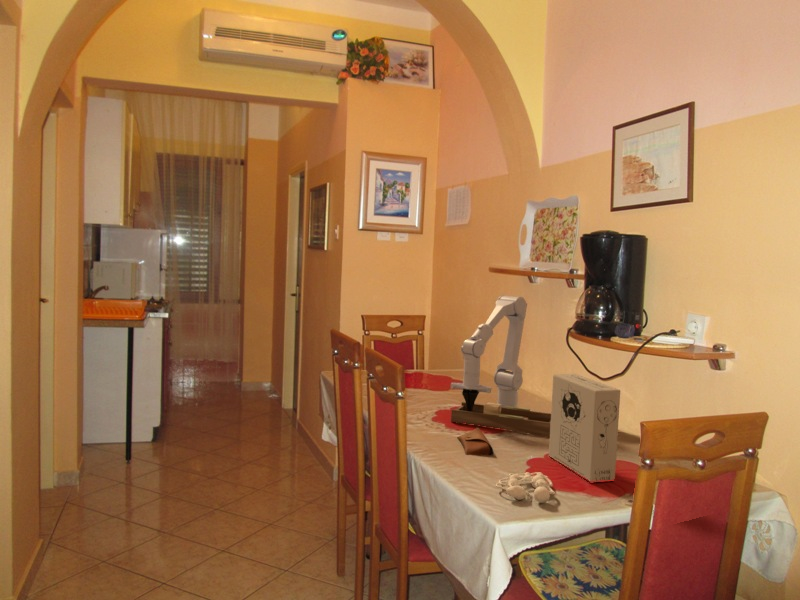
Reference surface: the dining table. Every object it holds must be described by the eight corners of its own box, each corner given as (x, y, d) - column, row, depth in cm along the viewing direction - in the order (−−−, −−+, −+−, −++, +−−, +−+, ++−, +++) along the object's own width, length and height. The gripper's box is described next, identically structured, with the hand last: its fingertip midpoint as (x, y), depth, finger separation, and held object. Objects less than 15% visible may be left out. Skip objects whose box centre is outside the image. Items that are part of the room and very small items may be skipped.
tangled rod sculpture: (503, 477, 168) (503, 462, 168) (557, 480, 164) (557, 465, 164) (492, 502, 150) (492, 485, 150) (553, 506, 146) (553, 489, 146)
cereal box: (615, 482, 164) (621, 389, 162) (590, 484, 162) (596, 390, 160) (570, 455, 185) (575, 373, 183) (548, 457, 183) (552, 374, 181)
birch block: (487, 413, 220) (487, 402, 220) (500, 415, 218) (501, 404, 218) (483, 416, 216) (483, 405, 215) (497, 418, 214) (497, 407, 213)
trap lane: (462, 413, 228) (462, 400, 228) (555, 426, 215) (556, 412, 215) (450, 422, 216) (451, 408, 216) (548, 436, 203) (549, 421, 203)
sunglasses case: (454, 436, 199) (466, 419, 199) (472, 447, 200) (484, 430, 200) (465, 455, 181) (477, 436, 181) (485, 467, 182) (497, 448, 182)
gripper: (448, 372, 218) (447, 410, 219) (488, 377, 213) (486, 415, 214) (454, 369, 225) (453, 406, 226) (493, 373, 219) (491, 411, 220)
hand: (469, 410), depth 220 cm, fingers closed
